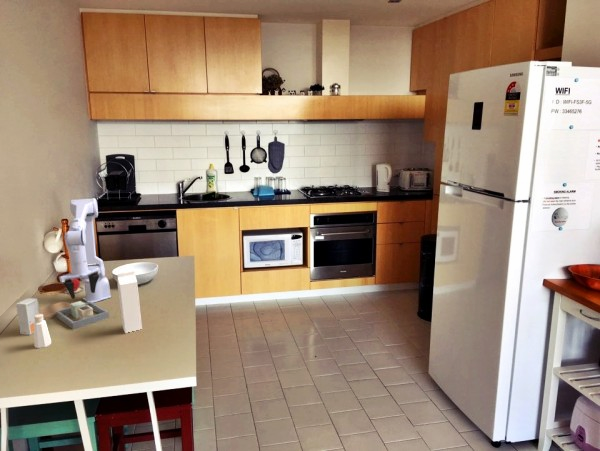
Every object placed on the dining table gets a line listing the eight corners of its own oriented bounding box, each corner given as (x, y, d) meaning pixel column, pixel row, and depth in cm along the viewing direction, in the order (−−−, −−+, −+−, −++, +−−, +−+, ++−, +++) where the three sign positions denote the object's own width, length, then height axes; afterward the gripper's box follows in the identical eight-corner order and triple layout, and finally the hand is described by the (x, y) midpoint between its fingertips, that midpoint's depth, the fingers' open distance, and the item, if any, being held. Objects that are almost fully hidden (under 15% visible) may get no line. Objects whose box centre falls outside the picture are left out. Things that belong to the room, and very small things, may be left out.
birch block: (89, 317, 188) (87, 304, 187) (94, 320, 185) (92, 307, 184) (78, 320, 185) (77, 307, 184) (83, 323, 182) (82, 310, 181)
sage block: (81, 312, 192) (80, 300, 191) (86, 315, 189) (85, 303, 188) (71, 315, 190) (70, 303, 189) (76, 318, 187) (74, 306, 185)
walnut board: (64, 303, 202) (64, 300, 202) (76, 310, 194) (75, 308, 194) (29, 313, 192) (28, 310, 192) (39, 321, 184) (38, 318, 184)
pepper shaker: (39, 341, 168) (35, 312, 165) (54, 341, 168) (50, 312, 165) (30, 348, 162) (26, 318, 160) (46, 348, 162) (41, 318, 160)
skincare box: (30, 335, 173) (25, 304, 170) (20, 334, 173) (15, 303, 171) (42, 328, 178) (37, 298, 176) (32, 327, 179) (27, 297, 177)
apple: (85, 291, 216) (83, 278, 215) (66, 295, 212) (64, 281, 210) (82, 286, 223) (80, 273, 221) (63, 290, 218) (61, 277, 217)
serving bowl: (141, 272, 242) (140, 259, 240) (168, 279, 229) (167, 266, 228) (104, 284, 225) (102, 270, 224) (131, 292, 213) (129, 278, 212)
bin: (91, 307, 198) (90, 301, 197) (108, 317, 186) (108, 311, 186) (56, 317, 188) (55, 311, 187) (73, 329, 177) (72, 322, 176)
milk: (142, 330, 175) (136, 273, 170) (125, 333, 172) (118, 276, 167) (138, 324, 180) (133, 268, 175) (122, 327, 177) (116, 271, 172)
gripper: (62, 268, 172) (67, 303, 175) (102, 258, 182) (106, 292, 185) (55, 264, 176) (60, 298, 179) (94, 255, 187) (98, 288, 190)
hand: (83, 295), depth 182 cm, fingers open, 7 cm apart
